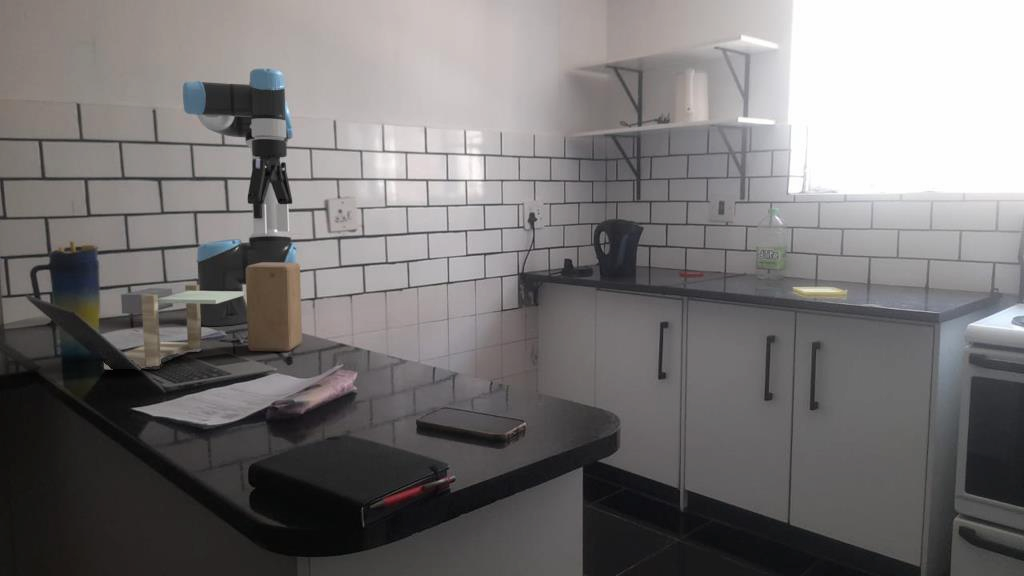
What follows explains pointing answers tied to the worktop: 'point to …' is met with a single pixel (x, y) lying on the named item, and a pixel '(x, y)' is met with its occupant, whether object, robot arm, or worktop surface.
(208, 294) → the trapdoor
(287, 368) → the worktop surface
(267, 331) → the wooden block
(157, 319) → the trapdoor frame
